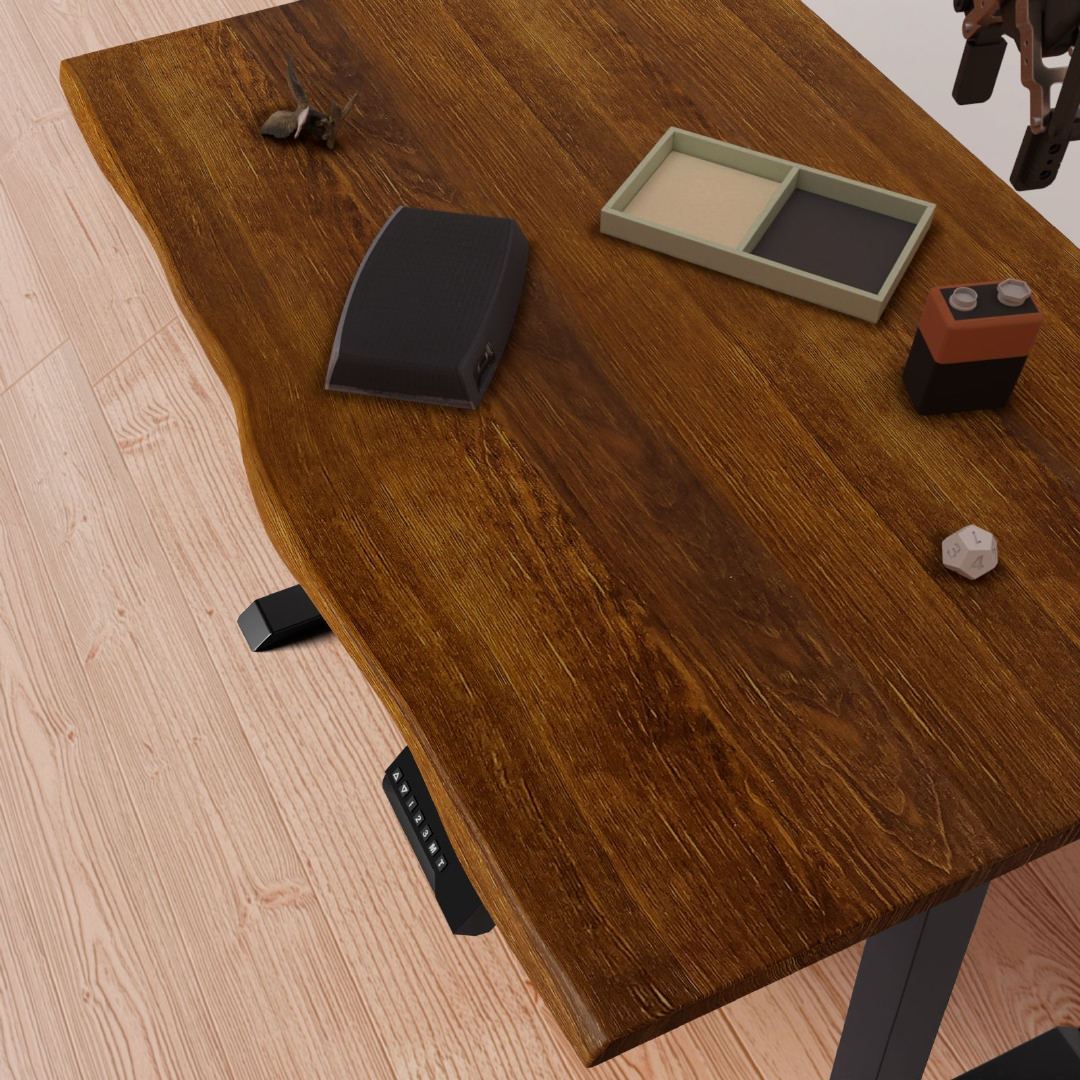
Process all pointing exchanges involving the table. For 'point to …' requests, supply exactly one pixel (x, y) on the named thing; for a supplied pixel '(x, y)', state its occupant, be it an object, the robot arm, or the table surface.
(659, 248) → the sorting tray
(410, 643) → the table surface
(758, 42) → the table surface
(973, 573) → the game die
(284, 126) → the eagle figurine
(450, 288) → the hard drive
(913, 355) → the battery
